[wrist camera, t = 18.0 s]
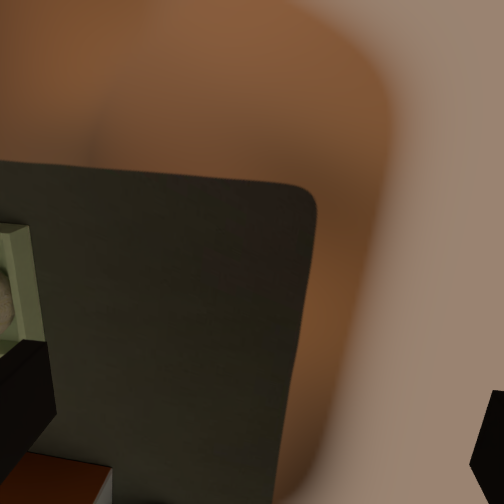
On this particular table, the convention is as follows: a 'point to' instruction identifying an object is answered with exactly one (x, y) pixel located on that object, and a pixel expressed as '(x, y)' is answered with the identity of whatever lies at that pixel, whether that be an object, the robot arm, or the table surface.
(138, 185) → the table surface
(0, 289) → the sea urchin shell
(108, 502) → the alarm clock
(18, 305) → the tray
